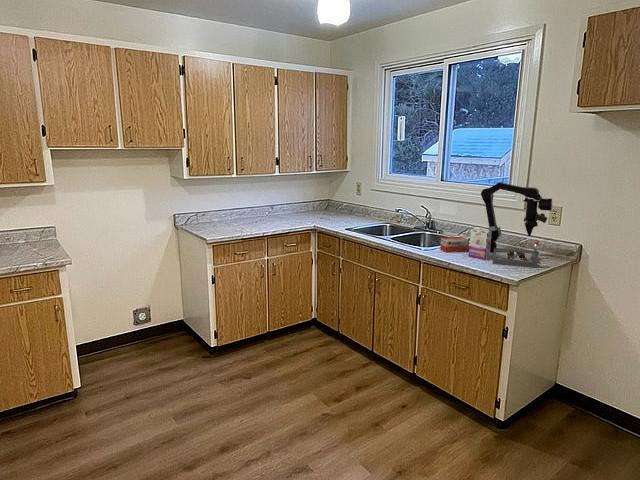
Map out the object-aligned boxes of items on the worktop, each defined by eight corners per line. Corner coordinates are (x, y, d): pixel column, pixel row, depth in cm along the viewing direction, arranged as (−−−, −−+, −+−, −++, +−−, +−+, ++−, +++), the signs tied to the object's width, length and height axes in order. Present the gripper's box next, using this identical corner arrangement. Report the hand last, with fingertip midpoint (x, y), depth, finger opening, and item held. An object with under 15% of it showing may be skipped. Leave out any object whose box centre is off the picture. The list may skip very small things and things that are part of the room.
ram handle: (531, 257, 245) (533, 240, 242) (531, 256, 247) (533, 239, 245) (537, 258, 244) (539, 240, 241) (537, 256, 246) (539, 239, 244)
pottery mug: (524, 265, 235) (517, 252, 235) (508, 268, 243) (502, 256, 242) (532, 255, 242) (525, 243, 242) (517, 259, 250) (510, 247, 250)
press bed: (492, 263, 235) (494, 248, 233) (492, 261, 241) (493, 245, 239) (536, 268, 227) (538, 251, 225) (535, 265, 233) (537, 249, 231)
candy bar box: (489, 258, 245) (492, 231, 242) (485, 260, 242) (488, 232, 239) (472, 255, 254) (474, 228, 250) (467, 256, 251) (470, 229, 247)
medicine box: (445, 253, 259) (446, 240, 257) (439, 250, 267) (440, 237, 265) (468, 252, 262) (469, 239, 260) (461, 248, 269) (462, 236, 268)
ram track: (532, 262, 237) (532, 261, 237) (530, 256, 250) (530, 255, 250) (539, 263, 236) (539, 262, 236) (537, 257, 249) (537, 256, 248)
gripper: (548, 212, 233) (546, 239, 236) (545, 207, 250) (543, 233, 253) (526, 211, 237) (524, 238, 240) (524, 207, 254) (522, 232, 257)
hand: (529, 235), depth 247 cm, fingers closed
